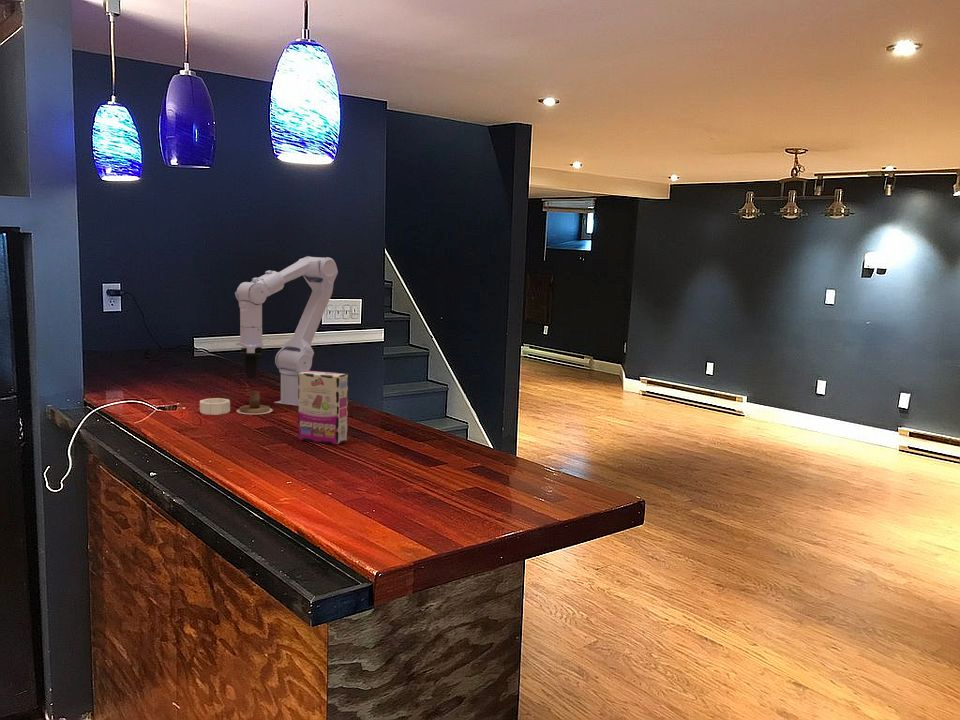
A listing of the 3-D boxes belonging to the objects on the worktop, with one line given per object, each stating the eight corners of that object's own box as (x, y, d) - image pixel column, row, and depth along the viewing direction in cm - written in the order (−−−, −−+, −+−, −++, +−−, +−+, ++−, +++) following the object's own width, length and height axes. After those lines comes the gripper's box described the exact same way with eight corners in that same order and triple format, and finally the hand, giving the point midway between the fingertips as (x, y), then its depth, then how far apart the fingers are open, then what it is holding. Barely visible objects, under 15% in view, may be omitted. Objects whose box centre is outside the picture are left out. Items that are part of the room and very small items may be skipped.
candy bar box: (348, 440, 187) (349, 373, 185) (337, 445, 183) (338, 376, 180) (308, 435, 191) (308, 369, 189) (296, 439, 187) (297, 372, 184)
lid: (275, 409, 216) (275, 390, 215) (257, 414, 208) (257, 395, 207) (251, 406, 218) (251, 388, 218) (233, 411, 211) (233, 392, 210)
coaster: (279, 411, 216) (279, 409, 216) (258, 417, 207) (258, 415, 207) (251, 407, 219) (251, 405, 219) (228, 413, 211) (228, 411, 210)
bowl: (235, 412, 212) (235, 400, 212) (217, 417, 205) (216, 405, 205) (213, 409, 215) (212, 397, 214) (194, 414, 208) (194, 402, 207)
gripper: (236, 323, 217) (237, 371, 219) (234, 329, 203) (235, 380, 205) (262, 323, 219) (263, 371, 221) (262, 329, 205) (262, 380, 207)
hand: (251, 375), depth 213 cm, fingers open, 7 cm apart
